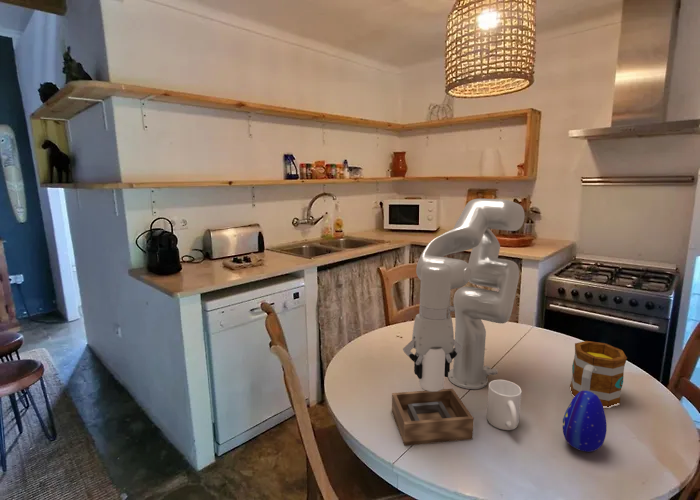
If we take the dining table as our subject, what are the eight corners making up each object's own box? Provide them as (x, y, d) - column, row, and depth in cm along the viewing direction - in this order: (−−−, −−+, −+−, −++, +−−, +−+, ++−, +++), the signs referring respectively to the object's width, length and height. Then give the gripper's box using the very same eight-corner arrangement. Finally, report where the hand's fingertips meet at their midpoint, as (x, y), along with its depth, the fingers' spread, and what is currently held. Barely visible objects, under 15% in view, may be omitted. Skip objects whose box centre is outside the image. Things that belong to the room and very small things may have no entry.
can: (444, 394, 99) (446, 350, 97) (418, 391, 100) (420, 348, 98) (443, 381, 105) (445, 339, 103) (419, 378, 106) (420, 337, 104)
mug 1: (529, 441, 99) (533, 404, 97) (496, 440, 99) (499, 404, 97) (511, 412, 110) (514, 379, 108) (482, 412, 111) (484, 379, 109)
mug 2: (576, 379, 128) (581, 337, 125) (625, 395, 118) (631, 350, 115) (555, 404, 114) (560, 357, 111) (609, 424, 105) (616, 374, 102)
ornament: (565, 427, 104) (571, 376, 101) (606, 442, 98) (613, 388, 95) (556, 450, 95) (562, 395, 92) (599, 467, 90) (607, 409, 87)
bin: (451, 407, 113) (452, 388, 112) (472, 439, 99) (473, 418, 98) (391, 412, 111) (392, 393, 110) (404, 445, 97) (404, 424, 96)
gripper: (460, 305, 103) (457, 366, 107) (397, 307, 101) (396, 370, 105) (473, 314, 96) (468, 380, 100) (405, 318, 94) (403, 385, 97)
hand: (431, 374), depth 102 cm, fingers closed on can, 6 cm apart
